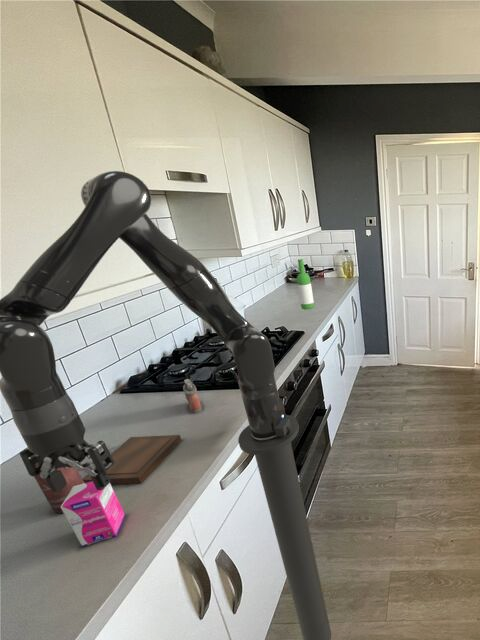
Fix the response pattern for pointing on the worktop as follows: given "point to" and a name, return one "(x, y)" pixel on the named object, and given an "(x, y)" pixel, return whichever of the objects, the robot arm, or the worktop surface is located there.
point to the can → (59, 497)
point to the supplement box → (93, 513)
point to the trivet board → (138, 458)
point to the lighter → (192, 396)
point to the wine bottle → (304, 287)
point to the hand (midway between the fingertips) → (82, 487)
